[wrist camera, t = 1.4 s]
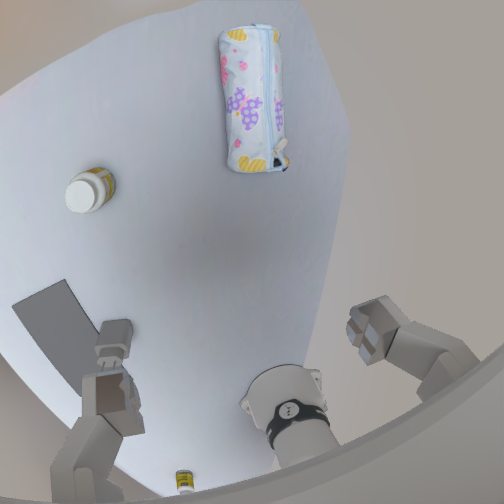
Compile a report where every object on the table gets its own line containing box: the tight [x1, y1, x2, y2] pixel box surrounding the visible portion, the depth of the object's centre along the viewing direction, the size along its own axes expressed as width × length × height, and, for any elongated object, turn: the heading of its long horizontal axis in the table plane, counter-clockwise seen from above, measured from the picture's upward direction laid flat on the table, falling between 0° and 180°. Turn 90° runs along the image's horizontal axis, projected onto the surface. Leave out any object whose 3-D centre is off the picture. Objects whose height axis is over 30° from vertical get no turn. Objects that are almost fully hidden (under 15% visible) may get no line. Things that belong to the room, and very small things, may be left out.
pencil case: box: [218, 23, 289, 173], centre depth 39 cm, size 21×9×10 cm, turn 4°
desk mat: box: [12, 279, 133, 397], centre depth 50 cm, size 24×14×1 cm, turn 19°
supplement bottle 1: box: [65, 168, 115, 214], centre depth 38 cm, size 6×6×10 cm
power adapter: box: [95, 319, 133, 372], centre depth 45 cm, size 3×5×12 cm, turn 93°
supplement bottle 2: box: [176, 470, 194, 495], centre depth 67 cm, size 5×5×8 cm
